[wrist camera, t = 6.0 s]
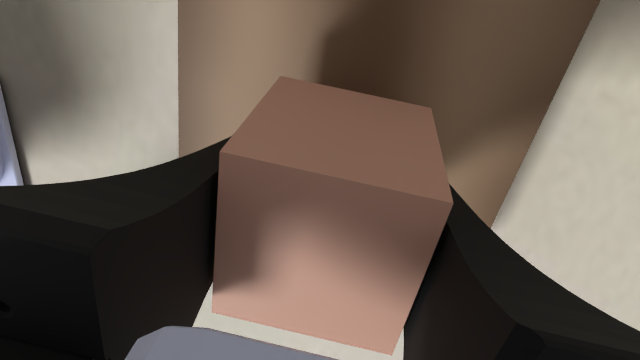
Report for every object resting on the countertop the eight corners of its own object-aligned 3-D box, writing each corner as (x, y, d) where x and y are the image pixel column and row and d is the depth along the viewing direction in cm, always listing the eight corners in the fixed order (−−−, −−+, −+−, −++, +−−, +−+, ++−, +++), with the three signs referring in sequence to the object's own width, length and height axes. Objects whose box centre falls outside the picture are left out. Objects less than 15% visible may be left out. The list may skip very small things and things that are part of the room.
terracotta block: (265, 200, 14) (211, 312, 10) (280, 75, 12) (219, 151, 8) (391, 229, 14) (392, 355, 10) (431, 107, 12) (453, 203, 8)
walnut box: (209, 191, 21) (179, 233, 18) (220, -91, 15) (177, -99, 12) (446, 245, 20) (456, 298, 17) (560, -23, 14) (606, -12, 11)
